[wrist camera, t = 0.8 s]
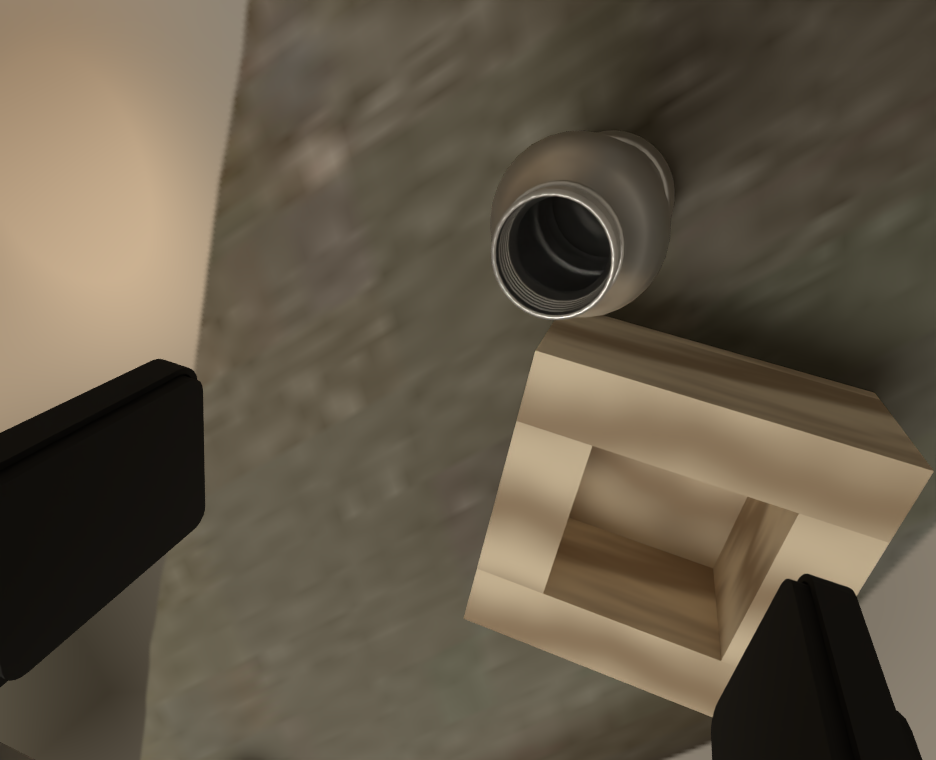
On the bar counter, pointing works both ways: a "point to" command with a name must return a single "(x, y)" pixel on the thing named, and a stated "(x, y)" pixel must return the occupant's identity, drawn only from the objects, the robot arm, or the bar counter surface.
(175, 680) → the bar counter surface
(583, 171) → the plastic bottle
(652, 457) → the well block
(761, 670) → the robot arm
